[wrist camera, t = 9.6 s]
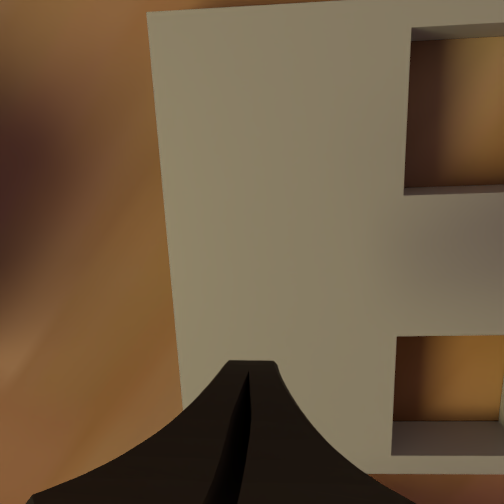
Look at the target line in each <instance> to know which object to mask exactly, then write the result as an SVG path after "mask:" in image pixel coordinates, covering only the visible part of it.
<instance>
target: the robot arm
mask: <svg viewBox="0 0 504 504" xmlns="http://www.w3.org/2000/svg"><path fill="white" fill-rule="evenodd" d="M26 504H416V503H414V502H412V501H410V500H409V499H407V498H405V497H403V496H401V495H400V494H398V493H396V492H394V491H393V490H391V489H389V488H387V487H385V486H384V485H382V484H380V483H379V482H377V481H376V480H375V479H373V478H372V477H370V476H369V475H367V474H366V473H364V472H363V471H361V470H360V469H359V468H357V467H356V466H355V465H354V464H352V463H351V462H350V461H349V460H347V459H346V458H345V457H344V456H343V455H341V454H340V453H339V452H338V451H337V450H336V449H335V448H333V447H332V446H331V445H330V444H329V443H328V442H327V441H326V440H325V438H324V437H323V436H322V435H321V434H320V433H319V432H318V431H317V430H316V428H315V427H314V426H313V425H312V424H311V422H310V421H309V420H308V419H307V417H306V416H305V415H304V413H303V412H302V410H301V409H300V408H299V406H298V405H297V403H296V402H295V400H294V398H293V397H292V395H291V393H290V392H289V390H288V388H287V387H286V385H285V383H284V381H283V379H282V377H281V374H280V372H279V369H278V365H277V364H276V363H275V362H274V361H268V360H229V361H228V362H227V363H225V365H224V366H223V367H222V368H221V370H220V371H219V372H218V374H217V375H216V376H215V377H214V378H213V380H212V381H211V382H210V383H209V384H208V386H207V387H206V388H205V389H204V390H203V391H202V392H201V393H200V394H199V396H198V397H197V398H196V399H195V400H194V401H193V402H192V403H191V404H190V405H189V406H188V407H187V408H185V409H184V410H183V411H182V412H181V413H180V414H179V415H178V416H177V417H176V418H175V419H174V420H173V421H171V422H170V423H169V424H168V425H166V426H165V427H164V428H162V429H161V430H160V431H158V432H157V433H156V434H154V435H153V436H151V437H150V438H148V439H147V440H145V441H144V442H142V443H140V444H139V445H137V446H136V447H134V448H133V449H131V450H129V451H128V452H126V453H125V454H123V455H121V456H119V457H118V458H116V459H114V460H112V461H110V462H108V463H106V464H104V465H102V466H100V467H98V468H96V469H94V470H92V471H90V472H88V473H86V474H84V475H81V476H79V477H77V478H74V479H72V480H69V481H67V482H64V483H62V484H59V485H57V486H54V487H52V488H49V489H47V490H44V491H42V492H39V493H36V494H33V495H32V496H31V497H30V499H29V500H28V501H27V503H26Z"/></svg>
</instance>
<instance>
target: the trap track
mask: <svg viewBox="0 0 504 504" xmlns="http://www.w3.org/2000/svg"><path fill="white" fill-rule="evenodd" d="M146 13H147V24H148V35H149V46H150V57H151V67H152V78H153V89H154V100H155V111H156V122H157V133H158V143H159V154H160V165H161V176H162V187H163V198H164V209H165V219H166V230H167V241H168V252H169V263H170V274H171V284H172V295H173V306H174V317H175V328H176V339H177V350H178V360H179V371H180V382H181V393H182V404H183V410H184V409H185V408H187V407H188V406H189V405H190V404H191V403H192V402H193V401H194V400H195V399H196V398H197V397H198V396H199V394H200V393H201V392H202V391H203V390H204V389H205V388H206V387H207V386H208V384H209V383H210V382H211V381H212V380H213V378H214V377H215V376H216V375H217V374H218V372H219V371H220V370H221V368H222V367H223V366H224V365H225V363H227V362H228V361H229V360H268V361H274V362H275V363H276V364H277V365H278V369H279V372H280V374H281V377H282V379H283V381H284V383H285V385H286V387H287V388H288V390H289V392H290V393H291V395H292V397H293V398H294V400H295V402H296V403H297V405H298V406H299V408H300V409H301V410H302V412H303V413H304V415H305V416H306V417H307V419H308V420H309V421H310V422H311V424H312V425H313V426H314V427H315V428H316V430H317V431H318V432H319V433H320V434H321V435H322V436H323V437H324V438H325V440H326V441H327V442H328V443H329V444H330V445H331V446H332V447H333V448H335V449H336V450H337V451H338V452H339V453H340V454H341V455H343V456H344V457H345V458H346V459H347V460H349V461H350V462H351V463H352V464H354V465H355V466H356V467H357V468H359V469H360V470H361V471H363V472H364V473H366V474H504V378H503V387H502V395H501V404H500V412H499V421H393V402H394V381H395V360H396V339H397V336H459V335H504V184H501V185H472V186H442V187H413V188H404V172H405V151H406V131H407V110H408V89H409V68H410V47H411V41H423V40H442V39H460V38H479V37H497V36H504V0H341V1H324V2H308V3H291V4H274V5H258V6H241V7H224V8H208V9H191V10H174V11H158V12H146Z"/></svg>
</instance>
